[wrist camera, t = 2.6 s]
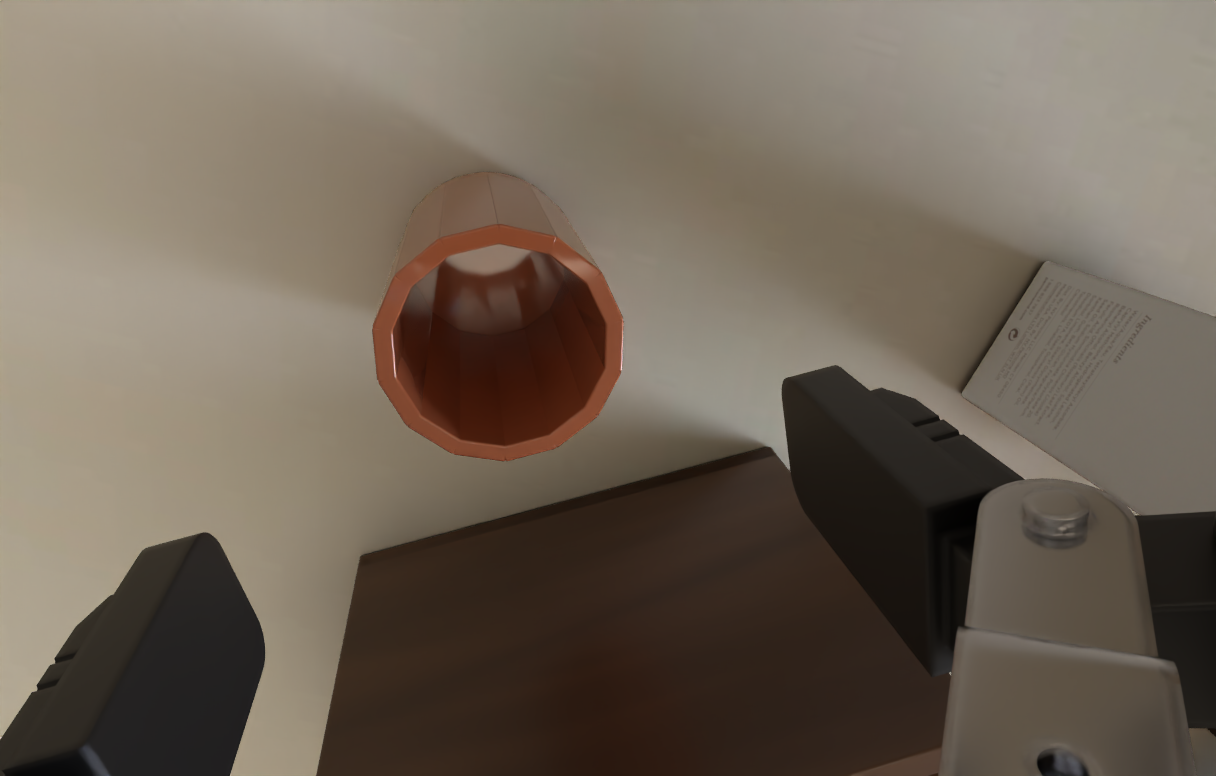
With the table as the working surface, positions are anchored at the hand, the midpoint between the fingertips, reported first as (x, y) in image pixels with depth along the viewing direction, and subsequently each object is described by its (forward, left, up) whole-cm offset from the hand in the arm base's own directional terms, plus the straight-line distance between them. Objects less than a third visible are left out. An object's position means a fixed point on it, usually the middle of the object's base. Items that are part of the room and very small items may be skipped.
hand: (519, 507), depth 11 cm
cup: (0, 0, -14) cm, 14 cm away
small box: (+9, +20, -14) cm, 26 cm away
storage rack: (+17, +1, -14) cm, 22 cm away
